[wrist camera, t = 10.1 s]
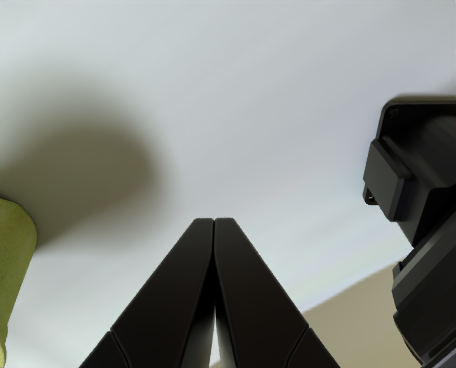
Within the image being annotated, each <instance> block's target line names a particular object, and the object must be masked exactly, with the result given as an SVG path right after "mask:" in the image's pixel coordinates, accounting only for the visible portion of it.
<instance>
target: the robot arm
mask: <svg viewBox="0 0 456 368" xmlns="http://www.w3.org/2000/svg"><path fill="white" fill-rule="evenodd" d="M392 109H396V111H395V113H394V114H392V115H389V112H390V111H391V110H392ZM363 180H364V182H365V187H364V192H363V199H364V201H365V202H366V204H368V205H379V206H380V208H381V210H382V211H383V213H384V215H385V216H386V218H387V219H388V220H389V221H390V222H397V223H398V225H399V226H400V228H401V230H402V231H403V233H404V234H405V236H406V237H407V239H408V241H409V242H410V244H411V245H412V247H413V248H414V249H413V250H412V251H411V252H410V253H409V254H408V256H407V257H406V258H405V259H404V260H403V261H402V262H398V264H397V265H396V266H395V267H394V268H393V278H394V282H393V287H392V294H393V298H394V302H395V306H396V309H397V311H396V312H395V313H394V315H393V318H394V322H395V324H396V326H397V328H398V330H399V332H400V333H401V335H402V337H403V339H404V342H405V344H406V346H407V347H408V349H409V350H410V352H411V353H412V355H413V356H414V357H415V358H416V360H417V361H418V362H419V363H420V364H421V366H422V367H421V368H456V101H413V102H389V103H387V104H386V105H385V106H384V107H383V109H382V111H381V116H380V120H379V124H378V129H377V133H376V138H375V139H374V140H373V141H372V142H371V144H370V148H369V153H368V157H367V162H366V167H365V171H364V176H363ZM372 195H373V196H374V197H373V198H369V197H370V196H372ZM215 314H216V328H217V336H218V344H219V352H220V360H221V368H340V366H339V365H338V364H337V362H336V361H335V360H334V358H333V357H332V356H331V354H330V353H329V352H328V351H327V349H326V348H325V346H324V345H323V344H322V342H321V341H320V340H319V338H318V337H317V335H316V334H315V332H314V331H313V330H312V328H309V324H308V323H307V321H306V320H305V319H304V317H303V316H302V314H301V313H300V311H299V310H298V309H297V307H296V306H295V304H294V303H293V302H292V300H291V299H290V297H289V296H288V294H287V293H286V292H285V290H284V289H283V287H282V286H281V285H280V283H279V282H278V280H277V279H276V277H275V276H274V275H273V273H272V272H271V270H270V269H269V268H268V266H267V265H266V263H265V262H264V260H263V259H262V258H261V256H260V255H259V253H258V252H257V251H256V249H255V248H254V246H253V245H252V243H251V242H250V241H249V239H248V238H247V236H246V235H245V234H244V232H243V231H242V229H241V228H240V226H239V225H238V224H237V222H236V221H235V220H234V219H233V218H216V219H215V221H214V220H213V219H212V218H196V219H195V220H194V221H193V222H192V223H191V225H190V226H189V227H188V228H187V230H186V231H185V232H184V234H183V235H182V236H181V237H180V239H179V240H178V241H177V243H176V244H175V245H174V246H173V248H172V249H171V250H170V252H169V253H168V254H167V256H166V257H165V258H164V259H163V261H162V262H161V263H160V265H159V266H158V267H157V268H156V270H155V271H154V272H153V274H152V275H151V276H150V278H149V279H148V280H147V281H146V283H145V284H144V285H143V287H142V288H141V289H140V290H139V292H138V293H137V294H136V296H135V297H134V298H133V299H132V301H131V302H130V303H129V305H128V306H127V307H126V309H125V310H124V311H123V312H122V314H121V315H120V316H119V318H118V319H117V320H116V321H115V323H114V324H113V325H112V327H111V328H110V331H108V332H107V333H106V334H105V335H104V337H103V338H102V339H101V341H100V342H99V343H98V344H97V346H96V347H95V348H94V349H93V351H92V352H91V353H90V354H89V356H88V357H87V358H86V359H85V360H84V362H83V363H82V364H81V365H80V367H79V368H209V362H210V354H211V347H212V339H213V331H214V322H215Z"/></svg>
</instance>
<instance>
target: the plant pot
mask: <svg viewBox="0 0 456 368" xmlns="http://www.w3.org/2000/svg"><path fill="white" fill-rule="evenodd" d="M36 244H37V230H36V227H35V225H34V223H33V221H32V219H31V218H30V216H29V215H28V214H27V213H26V212H25V211H24V210H23V209H22V208H21V207H20V206H19V205H17V204H16V203H14V202H11V201H7V200H4V199H1V198H0V368H4V366H5V363H6V347H5V342H6V338H7V333H8V327H7V324H8V321H9V318H10V315H11V312H12V310H13V307H14V304H15V301H16V298H17V296H18V293H19V290H20V287H21V285H22V282H23V279H24V277H25V274H26V271H27V269H28V266H29V263H30V261H31V258H32V256H33V253H34V250H35V247H36Z"/></svg>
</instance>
